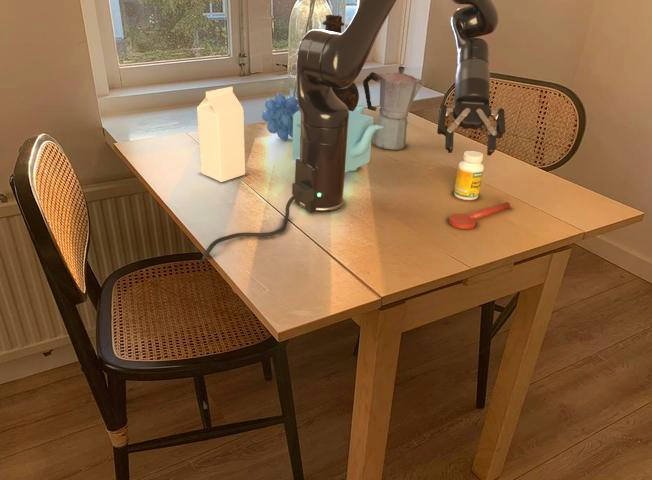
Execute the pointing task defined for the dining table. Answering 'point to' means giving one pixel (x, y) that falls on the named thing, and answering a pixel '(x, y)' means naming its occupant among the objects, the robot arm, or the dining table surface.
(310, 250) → the dining table surface
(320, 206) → the robot arm
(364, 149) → the teakettle
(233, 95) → the milk carton
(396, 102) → the moka pot
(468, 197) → the supplement bottle
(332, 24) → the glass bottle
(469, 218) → the red spoon
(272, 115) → the grapes
